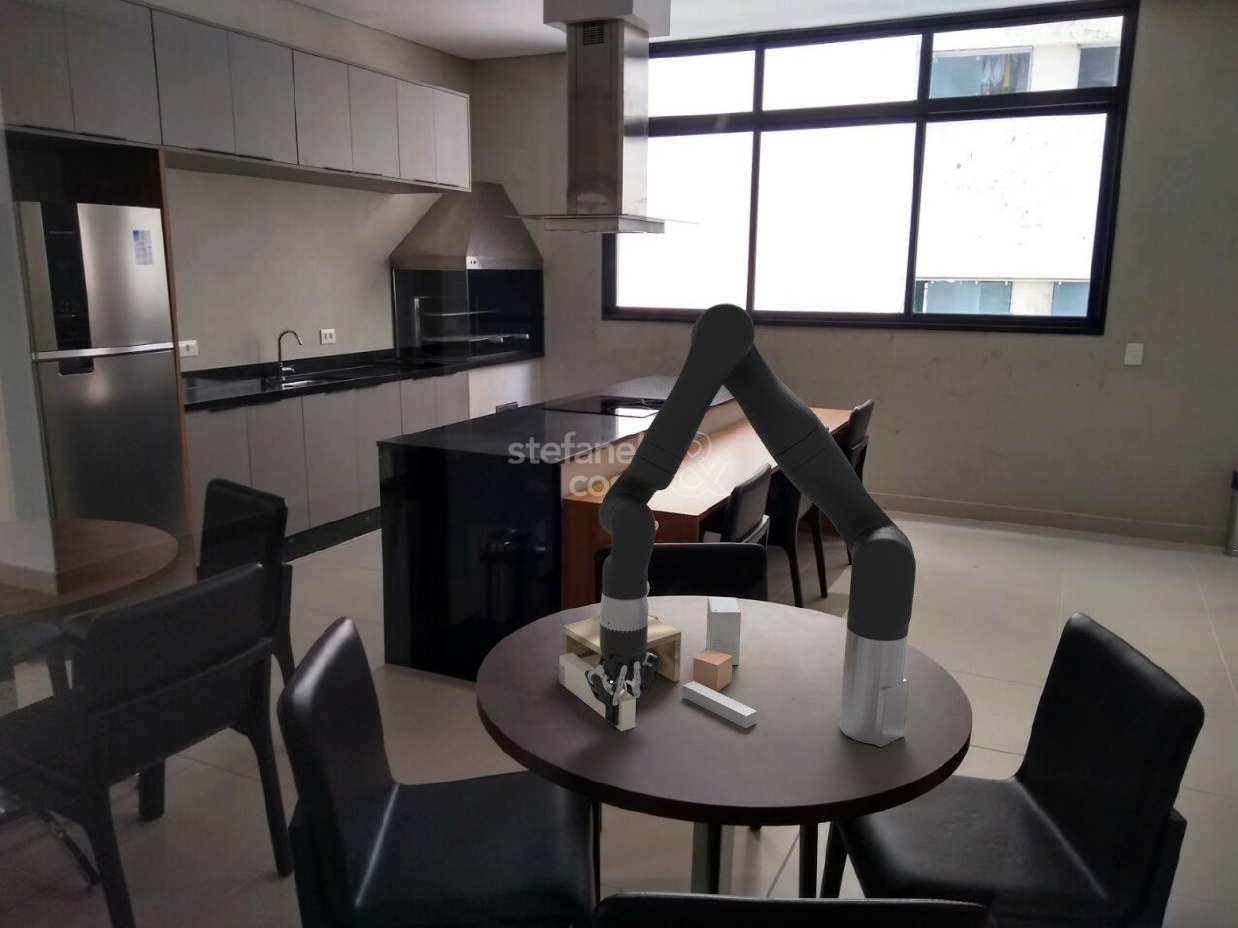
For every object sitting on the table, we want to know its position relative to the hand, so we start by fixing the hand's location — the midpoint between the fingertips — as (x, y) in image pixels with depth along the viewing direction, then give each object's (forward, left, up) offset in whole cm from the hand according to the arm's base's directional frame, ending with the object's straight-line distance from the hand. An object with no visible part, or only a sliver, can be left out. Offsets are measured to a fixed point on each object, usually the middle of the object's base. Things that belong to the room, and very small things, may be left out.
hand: (621, 720), depth 142 cm
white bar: (+8, -3, -1) cm, 8 cm away
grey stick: (-6, -16, -1) cm, 17 cm away
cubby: (+13, -10, -1) cm, 17 cm away
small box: (+9, -31, -1) cm, 32 cm away
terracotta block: (+2, -22, -1) cm, 22 cm away
